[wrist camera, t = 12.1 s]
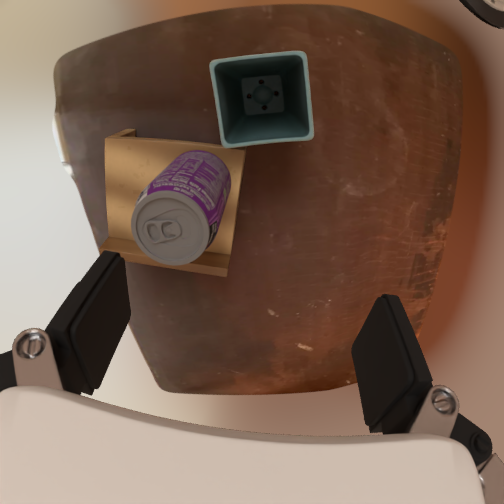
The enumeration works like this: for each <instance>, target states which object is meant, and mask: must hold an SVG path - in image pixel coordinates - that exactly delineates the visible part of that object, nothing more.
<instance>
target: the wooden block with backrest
mask: <svg viewBox="0 0 504 504" xmlns="http://www.w3.org/2000/svg"><path fill="white" fill-rule="evenodd" d="M135 135H136V129H125V130H123V131H121V132H118V133H116V134H114V135H112V136H109V137H107V138H105V182H106V203H107V218H108V230H109V237H108V238H107V240H106V241H105V242H104V243H103V244H102V246H101V247H100V248H99V251H100V255H101V253H102V252H103V251H104V250H107V251H113V252H118V253H120V255H121V257H123V258H124V260H125V261H129V262H135V263H141V264H147V265H153V266H159V267H165V268H171V269H178V270H184V271H190V272H197V273H203V274H210V275H216V276H223V277H227V273H228V268H229V262H230V257H231V252H232V246H233V241H234V235H235V227H236V220H237V213H238V206H239V199H240V191H241V184H242V178H243V171H244V164H245V157H246V150H247V146H242V147H236V148H224V147H223V146H222V145H218V144H209V143H200V142H190V141H180V140H168V139H155V138H138V137H135ZM193 150H202V151H207V152H210V153H212V154H214V155H216V156H217V157H218V158H220V159H221V160H222V161H223V162H224V164H225V165H226V166H227V168H228V170H229V173H230V176H231V190H230V193H229V196H228V199H227V203H226V206H225V209H224V212H223V216H222V219H221V222H220V225H219V229H218V232H217V235H216V237H215V239H214V241H213V242H212V244H211V245H210V246H209V247H208V248H207V249H206V250H205V251H204V252H203V253H202V254H201V255H200V256H199V257H198V258H197V259H195V260H194V261H192V262H190V263H187V264H184V265H166V264H162V263H159V262H157V261H155V260H153V259H151V258H150V257H148V256H147V255H146V254H145V253H144V252H143V251H142V250H141V249H140V248H139V246H138V245H137V243H136V242H135V240H134V237H133V234H132V230H131V218H132V214H133V211H134V208H135V204H136V201H137V199H138V197H139V195H140V193H141V192H142V191H143V190H144V188H145V187H146V186H147V185H148V184H149V183H150V182H151V181H152V180H153V179H155V178H156V177H157V176H158V175H159V174H160V173H161V172H162V171H163V170H164V169H165V168H166V167H167V166H168V165H169V164H170V163H171V162H172V161H173V160H175V159H176V158H177V157H178V156H179V155H181V154H183V153H185V152H188V151H193Z"/></svg>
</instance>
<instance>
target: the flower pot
mask: <svg viewBox="0 0 504 504" xmlns="http://www.w3.org/2000/svg"><path fill="white" fill-rule="evenodd" d="M209 67H210V74H211V79H212V86H213V91H214V97H215V103H216V110H217V117H218V123H219V130H220V139H221V143H222V146H223V147H224V148H236V147H242V146H250V145H258V144H268V143H277V142H290V141H307V140H311V139H313V137H314V126H313V116H312V104H311V94H310V83H309V73H308V63H307V56H306V54H305V53H304V52H303V51H288V52H277V53H267V54H257V55H247V56H239V57H231V58H224V59H217V60H213V61H211V62H210V64H209ZM260 80H263V84H260V83H259V81H260ZM276 91H277V92H278V95H274V92H276ZM248 94H250V95H251V98H247V95H248ZM263 106H266V107H267V108H266V109H265V110H264V109H262V107H263Z"/></svg>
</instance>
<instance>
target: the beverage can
mask: <svg viewBox="0 0 504 504" xmlns="http://www.w3.org/2000/svg"><path fill="white" fill-rule="evenodd" d="M230 190H231V176H230V173H229V170H228V168H227V166H226V165H225V164H224V162H223V161H222V160H221V159H220V158H218V157H217V156H216V155H214V154H212V153H210V152H207V151H202V150H193V151H188V152H185V153H183V154H181V155H179V156H178V157H177V158H176V159H175V160H173V161H172V162H171V163H170V164H169V165H168V166H167V167H166V168H165V169H164V170H163V171H162V172H161V173H160V174H159V175H158V176H157V177H156V178H155V179H153V180H152V181H151V182H150V183H149V184H148V185H147V186H146V187H145V188H144V190H143V191H142V192H141V193H140V195H139V197H138V199H137V201H136V204H135V208H134V211H133V214H132V218H131V230H132V234H133V237H134V240H135V242H136V243H137V245H138V246H139V248H140V249H141V250H142V251H143V252H144V253H145V254H146V255H147V256H148V257H150V258H151V259H153V260H155V261H157V262H159V263H162V264H166V265H184V264H187V263H190V262H192V261H194V260H195V259H197V258H198V257H199V256H200V255H201V254H202V253H203V252H204V251H205V250H206V249H207V248H208V247H209V246H210V245H211V244H212V242H213V241H214V239H215V237H216V235H217V232H218V229H219V225H220V222H221V219H222V216H223V212H224V209H225V206H226V203H227V199H228V196H229V193H230Z"/></svg>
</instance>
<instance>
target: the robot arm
mask: <svg viewBox="0 0 504 504" xmlns="http://www.w3.org/2000/svg"><path fill="white" fill-rule="evenodd" d="M483 1H484V2H485V3H487V4H488V5H490V6H491V7H493V8H494V9H496V10H499V11H503V12H504V0H483ZM130 316H131V309H130V302H129V294H128V286H127V278H126V268H125V260H124V258H123V257H121V255H120V253H118V252H113V251H107V250H104V251H103V252H102V253H101V255H100V256H99V257H98V259H97V260H96V261H95V263H94V264H93V265H92V267H91V268H90V269H89V271H88V272H87V273H86V275H85V276H84V277H83V278H82V280H81V281H80V282H78V283H77V284H76V286H75V287H74V288H73V290H72V291H71V292H70V294H69V295H68V297H67V298H66V300H65V301H64V302H63V304H62V305H61V307H60V308H59V310H58V311H57V313H56V314H55V316H54V317H53V319H52V320H51V322H50V323H49V324H48V326H47V328H46V329H45V331H44V330H41V329H38V328H31V329H27V330H24V331H22V332H21V333H20V334H19V335H18V336H17V337H16V338H15V339H14V342H13V346H12V350H11V351H8V352H5V353H3V354H0V504H504V463H503V462H502V461H501V460H500V458H499V457H498V456H497V454H496V453H494V454H493V455H492V442H491V439H490V437H489V436H488V434H487V433H486V432H484V431H483V430H482V429H480V428H479V427H478V426H476V425H475V424H473V423H472V422H471V421H469V420H468V419H467V418H465V417H464V416H463V415H461V414H460V413H458V412H459V400H458V398H457V396H456V394H455V393H454V392H453V391H452V390H451V389H450V388H448V387H446V386H443V385H435V386H433V385H432V381H433V380H432V377H431V374H430V371H429V369H428V366H427V363H426V361H425V358H424V355H423V353H422V350H421V348H420V345H419V343H418V340H417V338H416V336H415V333H414V331H413V328H412V326H411V324H410V321H409V319H408V317H407V314H406V312H405V310H404V308H403V305H402V303H401V301H400V299H399V297H398V296H396V295H389V294H383V295H382V296H381V297H378V298H377V299H376V301H375V303H374V305H373V307H372V309H371V311H370V313H369V315H368V317H367V319H366V321H365V323H364V325H363V327H362V328H361V330H360V332H359V334H358V336H357V338H356V340H355V341H354V343H353V345H352V357H353V362H354V367H355V372H356V377H357V382H358V387H359V392H360V397H361V403H362V408H363V414H364V420H365V424H366V425H367V426H369V430H370V433H377V432H383V435H363V436H300V435H282V434H268V433H257V432H247V431H239V430H231V429H223V428H216V427H209V426H204V425H198V424H192V423H187V422H181V421H176V420H171V419H167V418H162V417H157V416H153V415H149V414H145V413H141V412H137V411H133V410H129V409H126V408H122V407H118V406H115V405H111V404H107V403H104V402H101V401H97V400H94V399H91V398H88V397H85V396H81V395H80V394H81V392H83V393H86V394H88V395H92V394H93V392H94V389H98V388H99V387H100V385H101V383H102V380H103V378H104V375H105V373H106V371H107V369H108V366H109V364H110V361H111V359H112V357H113V355H114V353H115V350H116V348H117V346H118V343H119V342H120V339H121V337H122V335H123V333H124V331H125V329H126V326H127V324H128V322H129V320H130Z"/></svg>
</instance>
